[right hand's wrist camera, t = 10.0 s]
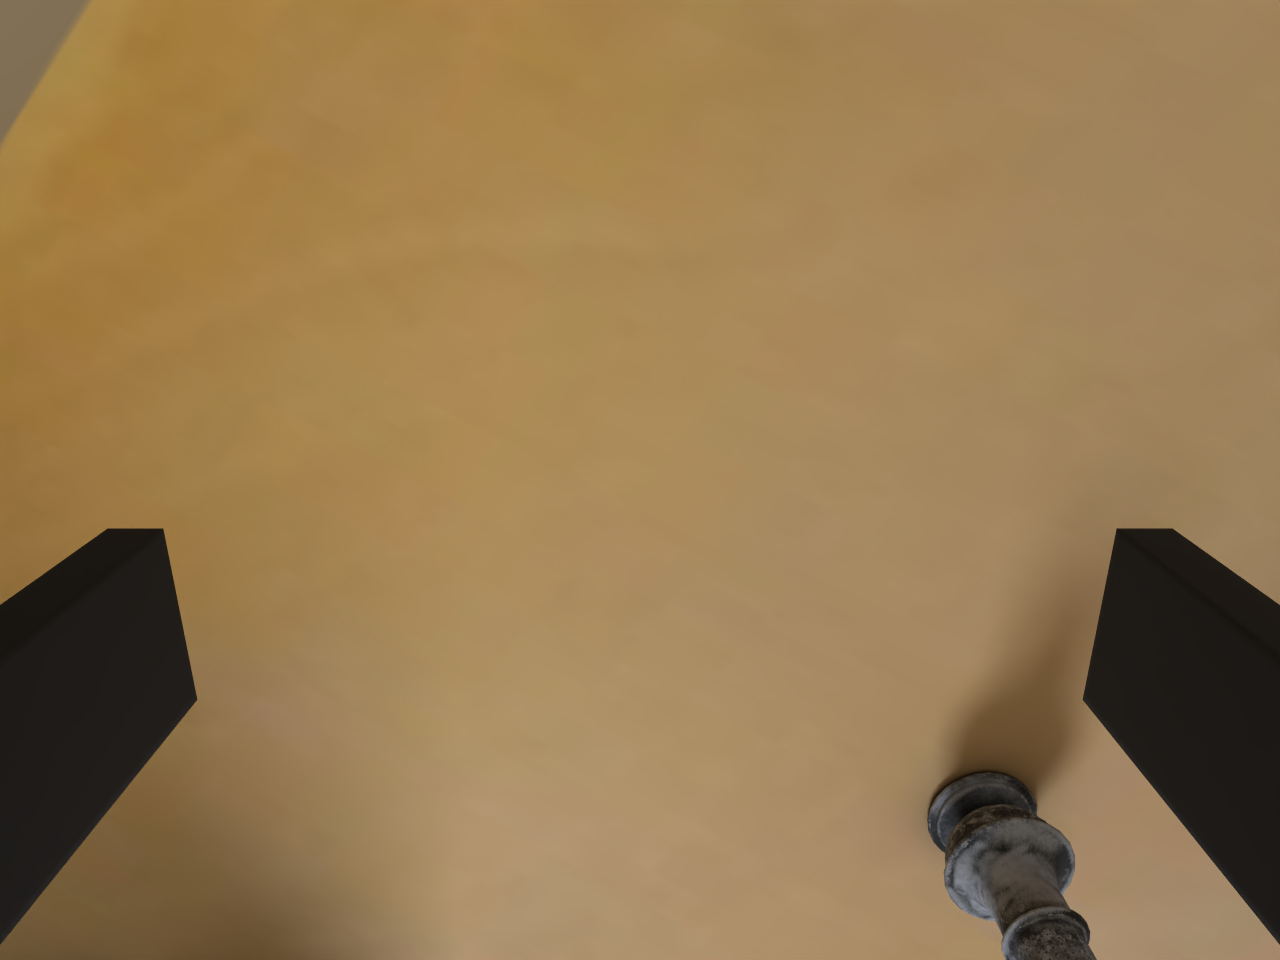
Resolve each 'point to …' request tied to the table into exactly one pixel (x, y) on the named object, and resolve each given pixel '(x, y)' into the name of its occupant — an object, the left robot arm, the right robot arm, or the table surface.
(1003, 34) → the table surface
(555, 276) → the table surface
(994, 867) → the salt shaker
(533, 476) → the table surface
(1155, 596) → the right robot arm
